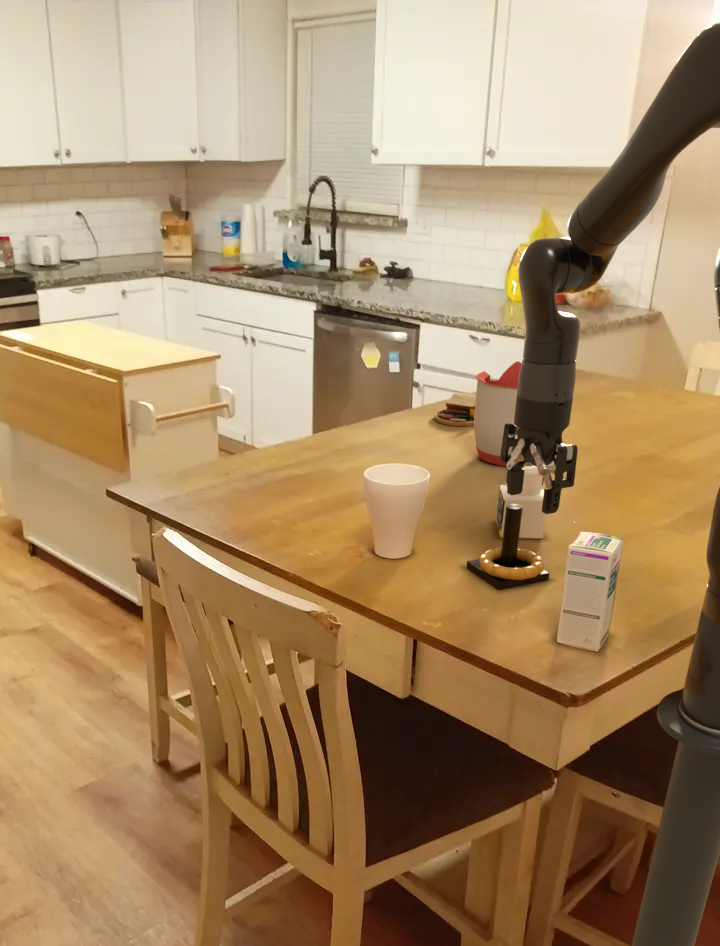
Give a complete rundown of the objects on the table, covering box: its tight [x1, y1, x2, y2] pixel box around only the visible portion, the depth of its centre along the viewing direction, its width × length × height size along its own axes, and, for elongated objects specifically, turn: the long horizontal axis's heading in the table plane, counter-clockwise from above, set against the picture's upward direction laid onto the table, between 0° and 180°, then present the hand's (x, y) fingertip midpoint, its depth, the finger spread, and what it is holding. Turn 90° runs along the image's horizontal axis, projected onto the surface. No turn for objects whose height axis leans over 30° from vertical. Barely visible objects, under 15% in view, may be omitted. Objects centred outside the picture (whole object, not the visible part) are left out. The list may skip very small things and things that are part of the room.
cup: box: [363, 462, 431, 560], centre depth 154 cm, size 10×10×14 cm
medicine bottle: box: [495, 462, 547, 540], centre depth 161 cm, size 7×7×12 cm
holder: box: [465, 504, 550, 591], centre depth 146 cm, size 9×9×11 cm
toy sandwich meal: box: [433, 392, 476, 427], centre depth 223 cm, size 12×14×5 cm
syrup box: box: [556, 530, 624, 653], centre depth 126 cm, size 6×6×14 cm
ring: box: [478, 546, 545, 580], centre depth 147 cm, size 10×10×2 cm
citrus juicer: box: [473, 361, 522, 467], centre depth 194 cm, size 16×17×20 cm
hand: (531, 503), depth 139 cm, fingers open, 8 cm apart
